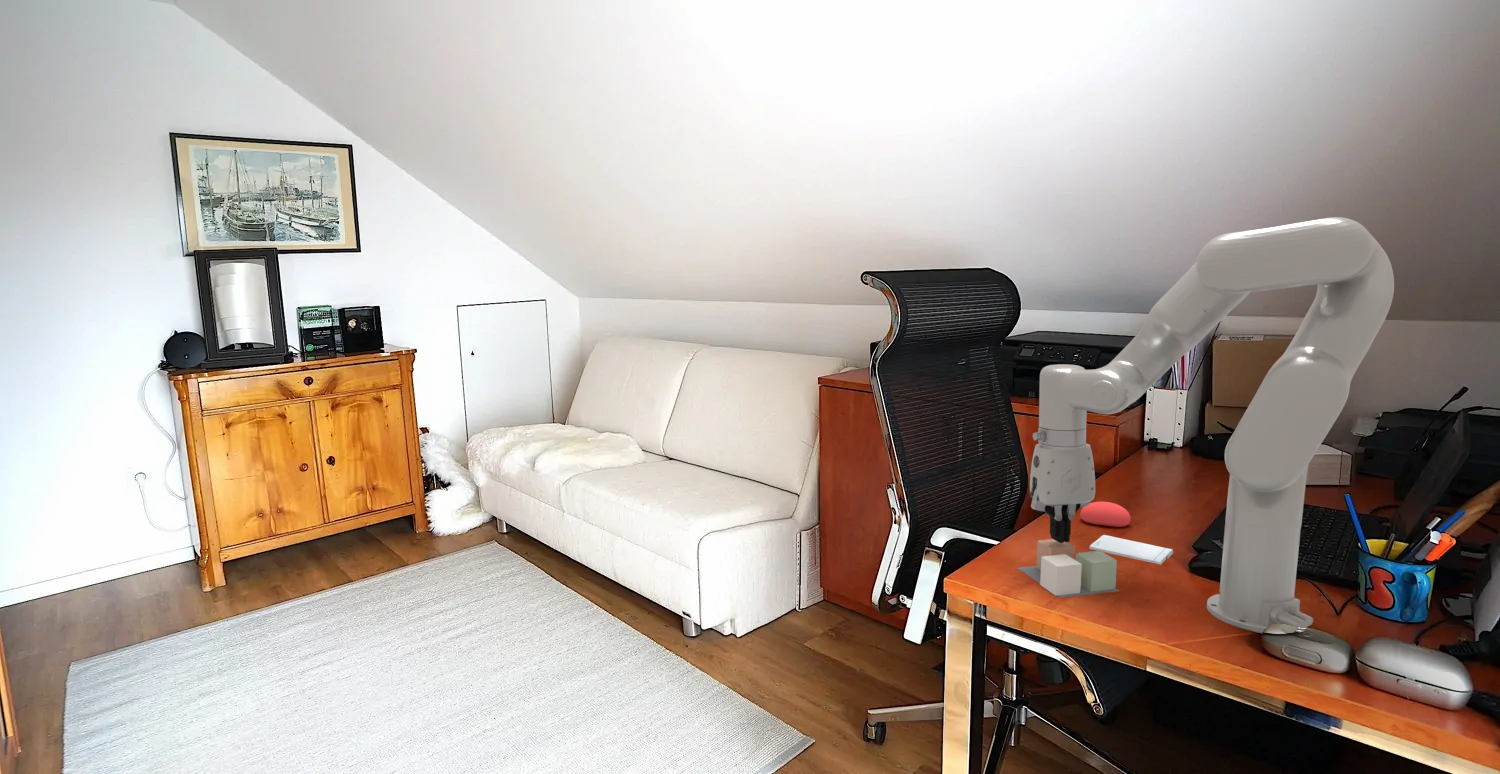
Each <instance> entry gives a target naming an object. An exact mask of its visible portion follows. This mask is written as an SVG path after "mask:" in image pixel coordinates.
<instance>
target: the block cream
mask: <svg viewBox="0 0 1500 774" xmlns="http://www.w3.org/2000/svg"><path fill="white" fill-rule="evenodd" d="M1081 570H1082V564H1081V563H1079V562H1078V561H1076V559H1075V560H1074V559H1073V558H1071V557H1069V556H1068V555H1066V554H1063V555H1053V556H1043V557H1041V577H1040V584H1039V585H1040V586H1041V587H1043V588H1044V589H1046V591H1048V592H1049V593H1051V594H1053V595H1054V596H1055V597H1056V596H1057V597H1058V595H1067V594H1076V593H1080V588H1081Z"/></svg>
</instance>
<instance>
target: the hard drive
mask: <svg viewBox="0 0 1500 774" xmlns="http://www.w3.org/2000/svg"><path fill="white" fill-rule="evenodd" d="M1089 549H1090V550H1092V551H1093V550H1094V551H1101V552H1103V553H1105V554H1106V553H1107V554H1111V555H1114V556H1115V555H1116V556H1120V557H1124V558H1125V557H1126V558H1129V559H1134V560H1138V561H1143V562H1148V563H1152V564H1157V565H1162V564H1163V563H1164V562H1165V561H1166V559H1169V558H1170V557H1171V556H1173V554H1174V550H1173V548H1167V547H1162V546H1158V545H1154V544H1149V543H1145V542H1139V541H1134V540H1129V539H1125V538H1121V537H1116V536H1111V535H1107V534H1103V535H1101V536H1099V538H1098V539H1097V540H1095V541H1093V542H1092V543H1091V544H1090V545H1089Z"/></svg>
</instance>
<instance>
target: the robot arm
mask: <svg viewBox="0 0 1500 774" xmlns="http://www.w3.org/2000/svg"><path fill="white" fill-rule="evenodd" d="M1313 285H1314V286H1315V285H1317V289H1316V294H1315V298H1314V299H1313V302H1312V304H1311V305H1310V307H1309V309H1308V310H1307V313H1306V314H1305V315H1304V316H1305V317H1304V318H1303V320H1302V322H1301V324H1300V326H1299V327H1298V329H1297V331H1296V333H1295V334H1294V337H1293V338H1292V340H1291V341H1290V343H1289V345H1288V346H1287V348H1286V349H1285V351H1284V353H1283V354H1281V356H1280V357H1279V358H1278V359H1277V360H1276V361H1275V362H1274V363H1273V365H1272V366H1271V367H1270V369H1269V370H1268V372H1267V373H1266V375H1265V376H1264V378H1263V380H1262V382H1261V384H1260V385H1259V387H1258V389H1257V391H1256V393H1255V394H1254V396H1253V398H1252V400H1251V401H1250V403H1249V405H1248V407H1247V408H1246V410H1245V412H1244V413H1243V416H1242V417H1241V418H1240V420H1239V422H1238V424H1237V426H1236V428H1235V429H1234V431H1233V433H1232V435H1231V436H1230V438H1229V439H1228V440H1227V444H1226V446H1225V449H1224V462H1225V463H1224V464H1225V466H1226V469H1227V471H1228V473H1229V481H1228V490H1227V501H1226V511H1225V519H1224V520H1225V524H1224V533H1223V534H1224V535H1223V545H1222V547H1223V548H1222V559H1221V570H1220V571H1221V572H1220V583H1219V593H1216V594H1213V595H1212V596H1210V597H1208V599H1207V600H1206V601H1207V602H1206V609H1207V611H1208V613H1210V615H1212V616H1213V617H1215V618H1216V619H1218V620H1219V621H1222V622H1224V623H1226V624H1228V625H1230V626H1233V627H1236V628H1240V629H1243V630H1247V631H1252V632H1251V633H1259V634H1263V633H1262V632H1263V631H1264V629H1266V628H1267V627H1268V626H1269V625H1271V624H1286V625H1291V626H1295V627H1297V628H1298V627H1300V628H1307V629H1308V627H1309V626H1311V625H1312V624H1313V623H1314V618H1313V617H1312V616H1310V615H1308V614H1306V613H1303V612H1301V611H1300V605H1301V599H1298V598H1296V597H1295V589H1296V581H1297V580H1296V579H1297V570H1298V569H1297V568H1298V561H1299V560H1298V559H1299V552H1300V551H1299V550H1300V549H1299V547H1300V539H1301V531H1302V530H1301V529H1302V523H1303V522H1302V521H1303V513H1304V502H1305V494H1306V493H1305V492H1306V484H1307V477H1308V467H1309V464H1310V462H1311V461H1312V459H1313V457H1314V456H1315V454H1316V453H1317V451H1318V450H1319V447H1320V446H1321V445H1322V443H1323V442H1324V441H1325V439H1326V437H1327V435H1328V434H1329V432H1330V430H1331V429H1332V427H1333V426H1334V424H1335V422H1336V421H1337V419H1338V418H1339V415H1340V414H1341V413H1342V411H1343V409H1344V407H1345V405H1346V403H1347V401H1348V398H1349V395H1350V390H1351V389H1350V387H1351V382H1352V380H1353V378H1354V375H1355V373H1356V371H1357V370H1358V368H1359V366H1360V365H1361V363H1362V362H1363V360H1364V358H1365V357H1366V355H1367V353H1368V351H1369V350H1370V348H1371V346H1372V344H1373V342H1374V341H1375V338H1376V337H1377V335H1378V333H1379V331H1380V329H1381V328H1382V325H1383V324H1384V322H1385V320H1386V319H1387V316H1388V314H1389V312H1390V308H1391V306H1392V302H1393V299H1394V293H1395V276H1394V270H1393V267H1392V263H1391V261H1390V259H1389V256H1388V254H1387V253H1386V251H1385V250H1384V249H1383V247H1382V246H1381V244H1380V243H1379V242H1378V241H1377V239H1376V238H1375V237H1374V236H1373V235H1372V234H1371V233H1370V231H1369V230H1368V228H1366V227H1365V226H1364V225H1363V224H1362V223H1360V222H1358V221H1356V220H1354V219H1351V218H1347V217H1341V216H1340V217H1338V216H1333V217H1331V216H1330V217H1324V218H1319V219H1318V218H1317V219H1312V220H1307V221H1306V220H1305V221H1301V222H1294V223H1290V224H1289V223H1288V224H1283V225H1278V226H1277V225H1276V226H1272V227H1264V228H1259V229H1250V230H1242V231H1234V232H1227V233H1222V234H1220V235H1218V236H1216V237H1213V238H1212V239H1211V240H1209V241H1208V242H1207V243H1206V244H1205V245H1204V246H1203V247H1202V249H1201V250H1200V252H1199V254H1198V255H1197V259H1196V262H1195V263H1194V264H1193V265H1192V266H1190V267H1189V269H1188V270H1187V271H1186V272H1185V273H1184V275H1182V277H1180V278H1179V280H1177V282H1176V283H1175V284H1173V285H1172V287H1171V288H1170V289H1168V290H1167V292H1166V293H1165V294H1164V295H1162V296H1161V298H1160V299H1159V300H1158V301H1156V303H1155V304H1154V305H1153V306H1152V307H1151V309H1150V311H1149V312H1148V315H1147V317H1146V321H1145V323H1144V324H1143V326H1142V327H1141V329H1140V330H1139V331H1138V333H1137V334H1136V335H1135V336H1134V337H1133V338H1132V340H1131V341H1130V342H1129V343H1128V344H1127V345H1125V347H1124V348H1123V349H1122V350H1121V351H1120V352H1119V353H1118V354H1117V355H1116V356H1115V357H1114V358H1113V359H1112V360H1111V361H1110V362H1109V363H1108V364H1106V365H1104V366H1102V367H1099V368H1096V369H1085V367H1083V366H1080V365H1076V364H1068V363H1067V364H1066V363H1065V364H1064V363H1063V364H1062V363H1061V364H1060V363H1059V364H1058V363H1057V364H1049V365H1046V366H1044V367H1042V369H1041V370H1040V373H1039V400H1038V401H1039V405H1038V406H1039V407H1038V409H1039V411H1038V429H1037V430H1038V431H1037V432H1033V433H1032V439H1033V441H1038V443H1037V444H1035V446H1034V450H1033V454H1032V458H1031V459H1032V460H1031V466H1030V475H1029V476H1030V477H1029V494H1030V495H1029V496H1030V497H1031V499H1032V500H1031V504H1030V507H1031V509H1032V510H1036V511H1039V512H1044V513H1045V514H1046V515H1047V517H1049V535H1050V538H1051V539H1054V540H1056V541H1058V542H1059V543H1064V542H1067V543H1070V542H1071V541H1070V540H1071V538H1070V537H1071V533H1072V532H1071V528H1072V527H1071V526H1072V525H1071V524H1072V523H1071V522H1072V520H1074V518H1075V515H1076V514H1077V512H1078V511H1079V510H1080V509H1082V508H1083V507H1084V506H1087V505H1089V504H1090V503H1091V501H1093V500H1094V499H1095V495H1096V475H1095V463H1094V457H1093V452H1092V448H1091V444H1089V443H1087V416H1088V415H1087V414H1088V412H1090V413H1097V414H1101V415H1112V414H1113V415H1114V414H1118V413H1121V412H1122V411H1123V410H1125V409H1126V408H1128V407H1129V406H1130V405H1132V404H1133V403H1135V402H1137V400H1139V399H1140V398H1141V397H1142V396H1143V395H1144V394H1146V392H1147V391H1148V390H1149V389H1150V388H1151V387H1153V385H1155V383H1157V381H1159V379H1161V378H1162V377H1163V376H1164V375H1165V374H1166V373H1167V372H1168V371H1169V370H1170V369H1171V368H1172V367H1173V366H1174V365H1175V364H1176V363H1177V362H1178V361H1179V360H1180V359H1181V358H1182V357H1183V356H1184V355H1186V354H1188V353H1189V351H1191V350H1193V349H1194V348H1195V347H1196V346H1197V345H1198V344H1199V343H1200V342H1201V341H1202V340H1203V339H1204V338H1205V337H1206V336H1207V335H1208V334H1209V333H1210V332H1211V331H1212V330H1213V329H1214V328H1216V326H1217V325H1218V324H1220V322H1221V321H1222V320H1223V319H1224V318H1226V317H1227V315H1228V314H1229V313H1231V312H1232V311H1233V309H1235V308H1236V307H1237V306H1238V305H1239V304H1240V303H1241V302H1243V300H1245V299H1246V298H1247V296H1248V295H1250V293H1253V292H1263V291H1273V290H1280V289H1289V288H1290V289H1291V288H1299V287H1307V286H1313Z"/></svg>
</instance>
